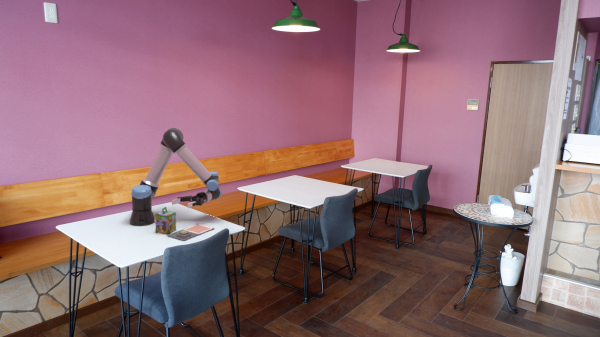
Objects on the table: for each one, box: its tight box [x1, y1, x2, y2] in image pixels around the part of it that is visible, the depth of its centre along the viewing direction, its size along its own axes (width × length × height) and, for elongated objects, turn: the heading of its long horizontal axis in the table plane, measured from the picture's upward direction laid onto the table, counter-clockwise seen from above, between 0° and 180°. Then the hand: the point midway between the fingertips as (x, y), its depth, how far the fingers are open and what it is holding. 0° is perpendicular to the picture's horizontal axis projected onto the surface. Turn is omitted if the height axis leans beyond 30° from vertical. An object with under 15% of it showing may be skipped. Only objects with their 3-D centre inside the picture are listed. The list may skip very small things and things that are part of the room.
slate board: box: [166, 223, 215, 242], centre depth 240 cm, size 14×26×2 cm, turn 151°
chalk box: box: [154, 206, 177, 235], centre depth 239 cm, size 9×9×15 cm
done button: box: [179, 229, 187, 235], centre depth 232 cm, size 4×4×2 cm
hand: (180, 204), depth 247 cm, fingers open, 13 cm apart
